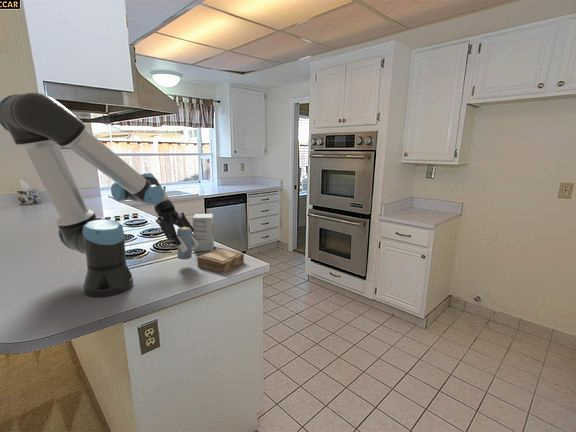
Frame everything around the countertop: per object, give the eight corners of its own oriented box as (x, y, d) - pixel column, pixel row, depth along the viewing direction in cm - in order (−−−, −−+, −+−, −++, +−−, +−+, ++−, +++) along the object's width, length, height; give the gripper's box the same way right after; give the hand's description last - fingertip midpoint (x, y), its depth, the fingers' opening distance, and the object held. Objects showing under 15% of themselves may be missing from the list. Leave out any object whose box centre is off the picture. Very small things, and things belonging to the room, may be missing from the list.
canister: (184, 260, 122) (184, 230, 120) (174, 257, 125) (174, 228, 122) (194, 256, 127) (194, 228, 125) (184, 254, 130) (184, 225, 127)
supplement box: (212, 251, 146) (212, 217, 142) (193, 251, 144) (192, 217, 140) (214, 245, 155) (213, 213, 151) (195, 245, 153) (194, 213, 149)
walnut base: (223, 272, 122) (223, 263, 121) (197, 265, 128) (197, 256, 127) (243, 262, 134) (243, 253, 133) (219, 255, 140) (219, 247, 139)
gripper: (175, 207, 137) (202, 248, 133) (138, 213, 121) (168, 260, 117) (183, 197, 134) (211, 238, 130) (147, 201, 117) (178, 249, 114)
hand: (191, 248), depth 123 cm, fingers closed on canister, 6 cm apart
